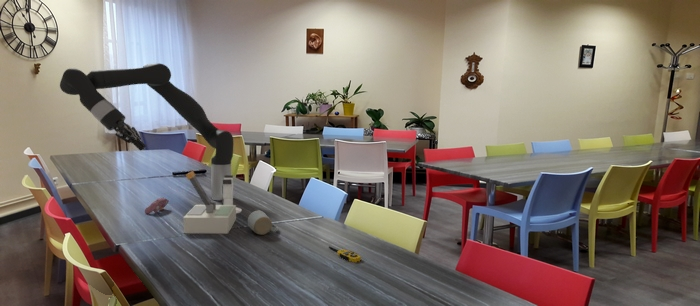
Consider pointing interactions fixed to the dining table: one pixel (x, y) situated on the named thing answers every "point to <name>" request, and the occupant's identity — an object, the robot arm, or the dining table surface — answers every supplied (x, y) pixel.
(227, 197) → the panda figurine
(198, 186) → the lever
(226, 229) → the switch box
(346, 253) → the yellow walkie-talkie
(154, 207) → the video game controller
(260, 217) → the ceramic mug
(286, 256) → the dining table surface
